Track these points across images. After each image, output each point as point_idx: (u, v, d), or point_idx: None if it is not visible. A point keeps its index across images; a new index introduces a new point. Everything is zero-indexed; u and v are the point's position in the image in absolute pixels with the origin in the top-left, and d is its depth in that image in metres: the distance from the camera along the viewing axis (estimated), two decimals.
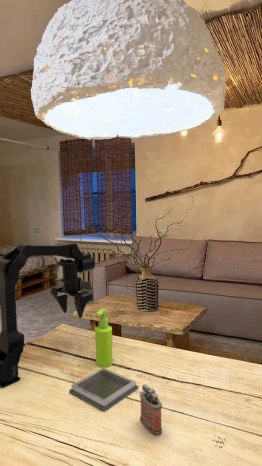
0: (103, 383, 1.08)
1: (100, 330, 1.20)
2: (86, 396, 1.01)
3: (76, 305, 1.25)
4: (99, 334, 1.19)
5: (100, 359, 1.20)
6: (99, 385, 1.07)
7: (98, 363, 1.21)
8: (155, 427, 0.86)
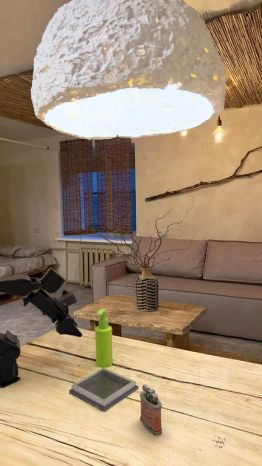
0: (103, 383, 1.08)
1: (100, 330, 1.20)
2: (86, 396, 1.01)
3: None
4: (99, 334, 1.19)
5: (100, 359, 1.20)
6: (99, 385, 1.07)
7: (98, 363, 1.21)
8: (155, 427, 0.86)
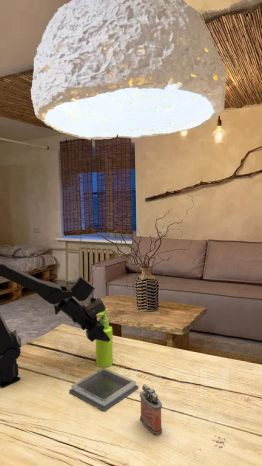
0: (103, 383, 1.08)
1: None
2: (86, 396, 1.01)
3: None
4: None
5: (100, 359, 1.20)
6: (99, 385, 1.07)
7: (98, 363, 1.21)
8: (155, 427, 0.86)
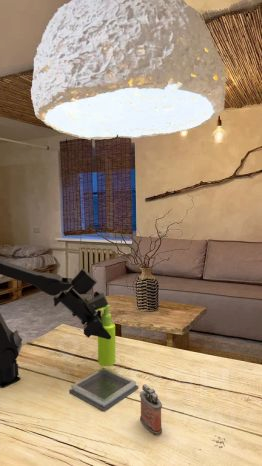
0: (103, 383, 1.08)
1: None
2: (86, 396, 1.01)
3: None
4: None
5: (101, 357, 1.14)
6: (99, 385, 1.07)
7: (99, 361, 1.15)
8: (155, 427, 0.86)
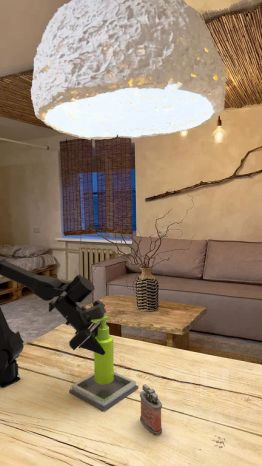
0: None
1: None
2: (86, 396, 1.01)
3: None
4: None
5: (96, 373, 1.04)
6: (99, 385, 1.07)
7: None
8: (155, 427, 0.86)
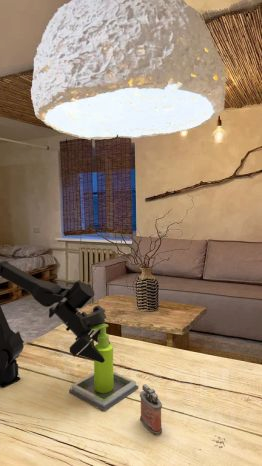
0: None
1: (96, 348, 1.03)
2: (86, 396, 1.01)
3: None
4: None
5: (95, 382, 1.04)
6: None
7: (94, 385, 1.05)
8: (155, 427, 0.86)
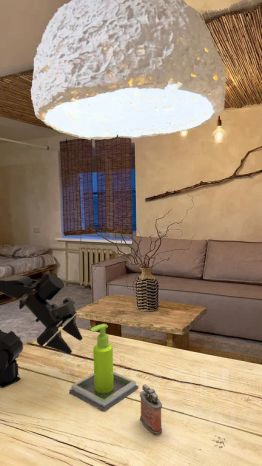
0: None
1: (96, 349, 1.03)
2: (86, 396, 1.01)
3: None
4: (94, 353, 1.03)
5: (95, 382, 1.04)
6: None
7: (94, 386, 1.05)
8: (155, 427, 0.86)
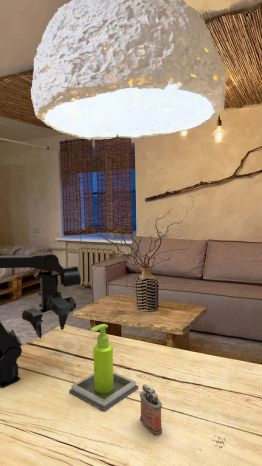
0: None
1: (96, 349, 1.03)
2: (86, 396, 1.01)
3: None
4: (94, 353, 1.03)
5: (95, 382, 1.04)
6: None
7: (94, 386, 1.05)
8: (155, 427, 0.86)
